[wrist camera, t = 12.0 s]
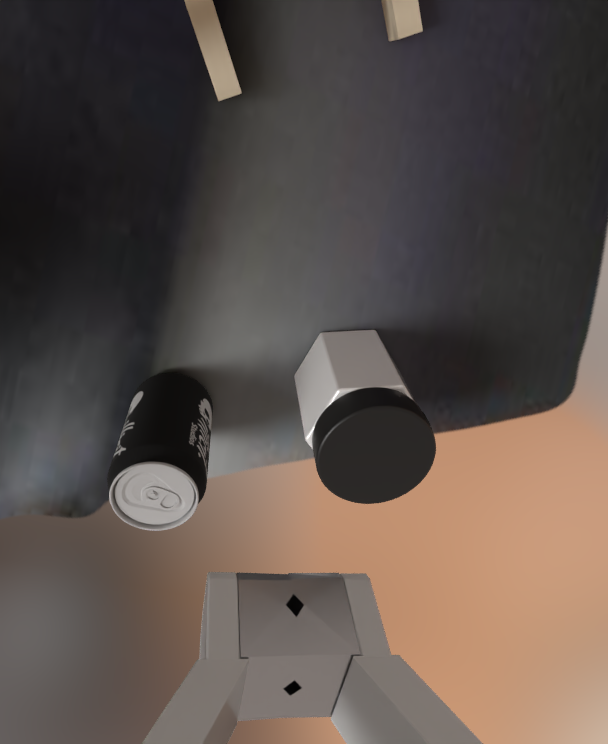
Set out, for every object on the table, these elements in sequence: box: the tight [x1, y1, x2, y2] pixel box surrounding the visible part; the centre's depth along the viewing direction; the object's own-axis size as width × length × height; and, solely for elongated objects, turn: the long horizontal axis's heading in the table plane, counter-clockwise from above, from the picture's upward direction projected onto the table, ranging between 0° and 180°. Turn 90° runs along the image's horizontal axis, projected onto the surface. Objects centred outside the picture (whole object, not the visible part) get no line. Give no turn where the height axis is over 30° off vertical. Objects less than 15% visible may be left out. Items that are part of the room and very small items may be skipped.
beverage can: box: [107, 373, 213, 531], centre depth 41 cm, size 7×7×12 cm
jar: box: [294, 330, 436, 504], centre depth 41 cm, size 9×8×12 cm
